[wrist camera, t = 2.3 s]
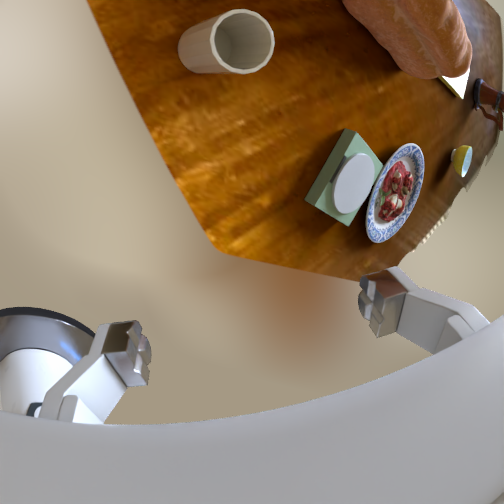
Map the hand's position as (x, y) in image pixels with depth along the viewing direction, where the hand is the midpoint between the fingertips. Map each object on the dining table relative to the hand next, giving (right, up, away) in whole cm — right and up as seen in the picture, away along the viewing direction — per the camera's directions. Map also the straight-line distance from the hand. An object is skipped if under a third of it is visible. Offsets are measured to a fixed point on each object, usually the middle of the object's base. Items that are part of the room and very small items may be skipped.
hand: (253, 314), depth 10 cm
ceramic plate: (+33, +17, +51) cm, 63 cm away
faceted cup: (-5, +24, +14) cm, 28 cm away
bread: (+23, +43, +22) cm, 53 cm away
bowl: (+70, +36, +65) cm, 102 cm away
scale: (+16, +15, +38) cm, 44 cm away
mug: (+86, +61, +59) cm, 121 cm away
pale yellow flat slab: (+56, +53, +41) cm, 87 cm away
